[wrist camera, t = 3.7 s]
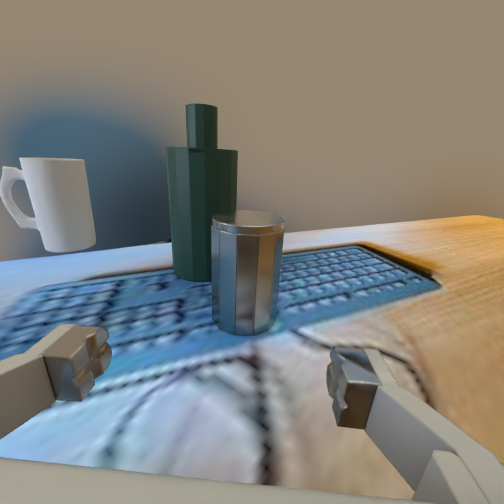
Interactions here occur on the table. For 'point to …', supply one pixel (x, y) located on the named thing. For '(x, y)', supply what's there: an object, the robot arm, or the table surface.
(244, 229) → the cap
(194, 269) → the bottle
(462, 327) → the table surface
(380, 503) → the robot arm
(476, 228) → the table surface
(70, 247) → the mug
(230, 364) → the table surface
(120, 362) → the table surface
